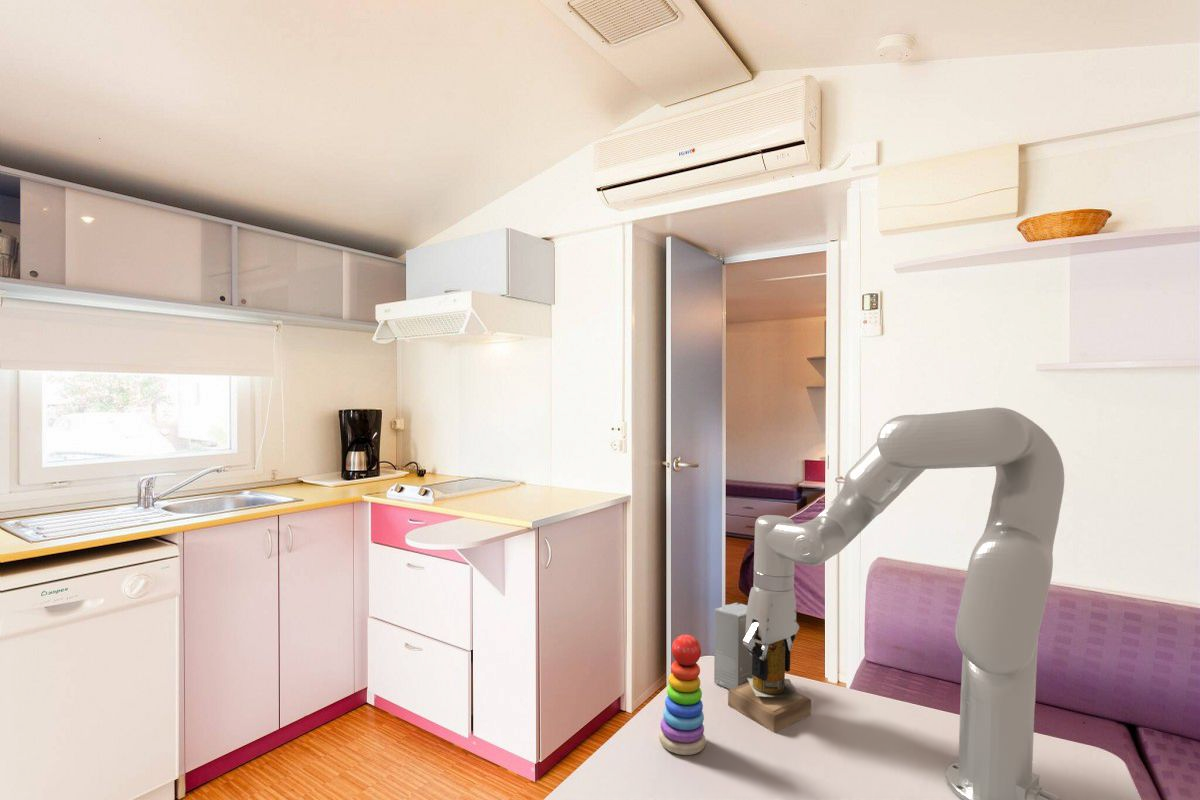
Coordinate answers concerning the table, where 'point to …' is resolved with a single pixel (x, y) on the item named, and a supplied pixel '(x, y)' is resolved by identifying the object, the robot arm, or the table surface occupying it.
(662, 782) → the table surface
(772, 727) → the base
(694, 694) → the stacking toy
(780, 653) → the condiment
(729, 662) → the skincare box
